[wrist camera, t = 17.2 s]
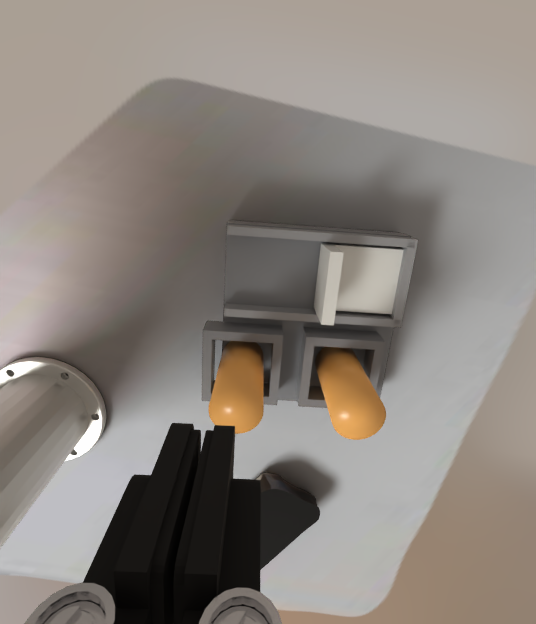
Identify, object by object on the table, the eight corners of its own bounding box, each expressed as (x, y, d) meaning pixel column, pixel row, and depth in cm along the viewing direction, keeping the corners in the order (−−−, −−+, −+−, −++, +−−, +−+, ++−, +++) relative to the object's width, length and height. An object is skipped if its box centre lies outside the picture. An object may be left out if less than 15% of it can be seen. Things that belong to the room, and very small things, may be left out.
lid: (313, 306, 33) (321, 324, 29) (321, 243, 32) (330, 251, 27) (389, 311, 34) (408, 330, 29) (400, 248, 32) (423, 258, 27)
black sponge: (269, 457, 43) (269, 481, 39) (322, 493, 45) (327, 519, 41) (188, 538, 47) (182, 566, 43) (240, 568, 49) (238, 597, 45)
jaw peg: (312, 379, 36) (327, 437, 27) (317, 341, 35) (335, 391, 26) (352, 381, 36) (380, 441, 28) (359, 344, 35) (390, 395, 26)
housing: (209, 380, 39) (187, 458, 28) (213, 218, 34) (188, 233, 23) (370, 390, 40) (412, 470, 28) (399, 232, 35) (465, 253, 23)
